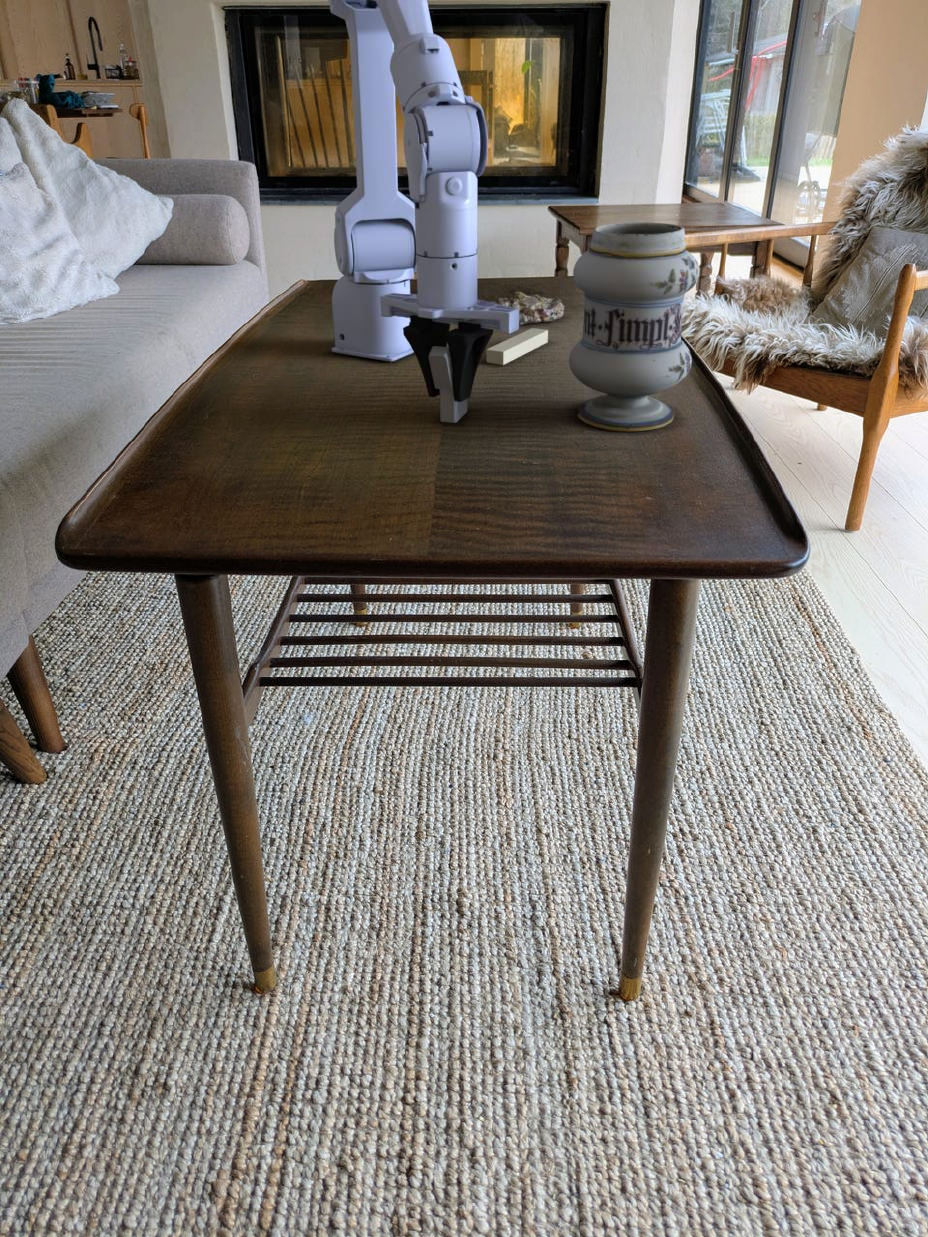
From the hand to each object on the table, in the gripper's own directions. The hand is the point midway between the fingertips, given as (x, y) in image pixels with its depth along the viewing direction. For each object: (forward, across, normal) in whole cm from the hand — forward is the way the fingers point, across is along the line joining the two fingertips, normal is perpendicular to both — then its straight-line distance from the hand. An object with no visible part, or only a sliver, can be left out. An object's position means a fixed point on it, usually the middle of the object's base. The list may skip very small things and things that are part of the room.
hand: (449, 396), depth 91 cm
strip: (+2, -6, +26) cm, 27 cm away
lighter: (+3, 0, 0) cm, 3 cm away
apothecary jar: (+3, +15, +10) cm, 18 cm away
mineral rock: (+3, -13, +42) cm, 44 cm away
